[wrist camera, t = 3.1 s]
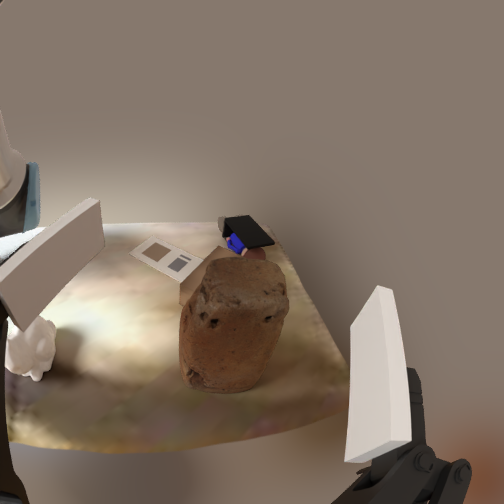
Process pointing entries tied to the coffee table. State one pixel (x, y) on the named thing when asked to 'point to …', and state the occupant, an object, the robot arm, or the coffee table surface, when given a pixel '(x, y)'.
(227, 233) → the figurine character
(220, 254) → the tower base
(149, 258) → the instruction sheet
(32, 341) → the rabbit
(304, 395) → the coffee table surface
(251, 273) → the block
